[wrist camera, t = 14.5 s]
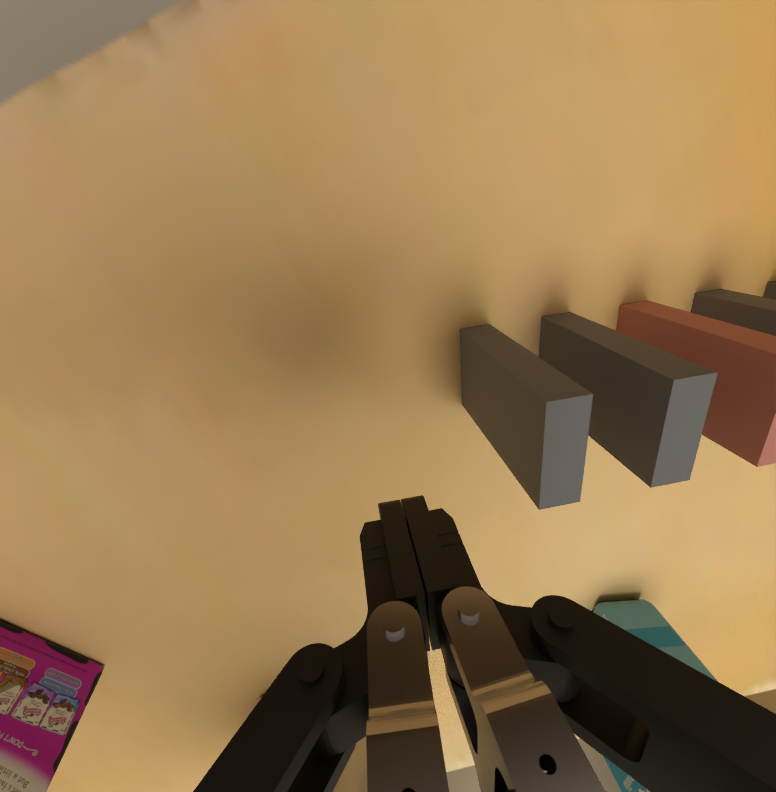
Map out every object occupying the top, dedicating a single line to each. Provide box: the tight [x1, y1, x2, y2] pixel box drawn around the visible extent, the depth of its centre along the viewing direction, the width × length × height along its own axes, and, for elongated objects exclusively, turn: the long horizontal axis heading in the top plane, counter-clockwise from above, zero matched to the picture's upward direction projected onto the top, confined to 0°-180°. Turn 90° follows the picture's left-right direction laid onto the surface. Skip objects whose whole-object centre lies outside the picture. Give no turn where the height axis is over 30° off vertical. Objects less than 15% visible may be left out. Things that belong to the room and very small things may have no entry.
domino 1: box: [460, 324, 593, 510], centre depth 20 cm, size 2×5×10 cm, turn 6°
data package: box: [593, 600, 718, 792], centre depth 33 cm, size 12×4×12 cm, turn 174°
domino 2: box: [539, 312, 718, 487], centre depth 21 cm, size 2×5×10 cm, turn 6°
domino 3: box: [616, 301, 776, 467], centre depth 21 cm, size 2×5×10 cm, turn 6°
